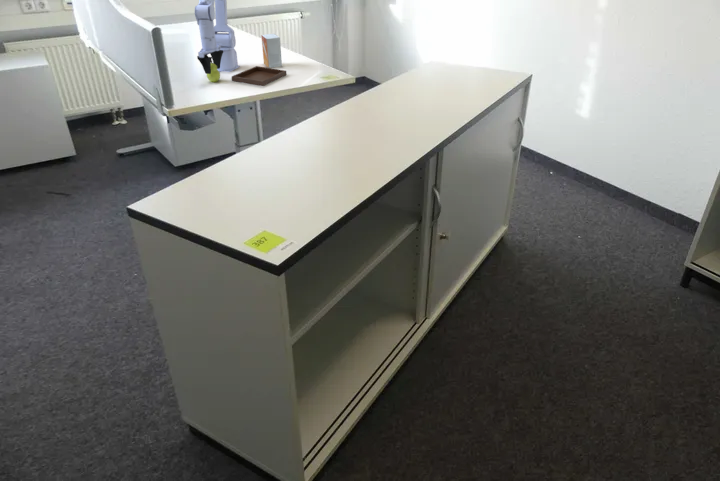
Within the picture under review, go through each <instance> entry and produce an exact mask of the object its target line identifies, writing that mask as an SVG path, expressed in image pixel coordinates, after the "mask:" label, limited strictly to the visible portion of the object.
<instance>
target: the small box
mask: <svg viewBox="0 0 720 481" xmlns="http://www.w3.org/2000/svg"><path fill="white" fill-rule="evenodd" d="M260 37H261V47H262V57H263V58H262V60H263V64H264V66H266V68H272V69H273V68H280V67H283V61H282V47H281V37H280V36H278V35H277V34H275V33H266V34H261V35H260Z"/></svg>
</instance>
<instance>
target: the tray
mask: <svg viewBox="0 0 720 481" xmlns="http://www.w3.org/2000/svg"><path fill="white" fill-rule="evenodd" d="M287 74H288V73H287V70H284V69H277V68H273V67H272V68H269V67H267V66H266V67H265V66H259V65H256V66H253V67H251V68H248V69H246V70H244V71H241V72H239V73H236V74H234V75H231V82H236V83H242V84H248V85H254V86H260V87H265V86H266V85H269V84H271V83H273V82H275V81H277V80H280V79H282V78H284V77H286V76H287Z"/></svg>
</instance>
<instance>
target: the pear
mask: <svg viewBox="0 0 720 481" xmlns="http://www.w3.org/2000/svg"><path fill="white" fill-rule="evenodd" d="M206 78H207V79H208V81H209V82H210V83H218V82H219V80H220V78H221V73H220V71H218V70H217V66H216V64H214V63H213V60H212V59H211V74H206Z"/></svg>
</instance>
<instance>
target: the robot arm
mask: <svg viewBox="0 0 720 481" xmlns="http://www.w3.org/2000/svg"><path fill="white" fill-rule="evenodd" d="M227 1H228V0H198V3H197V5H195V7H194V17H195V19H196V24H197V26H198V29H199V35H200V36H199V37H200V42H201V49H200V50H199V51H198V52H197V54H198V55H197V56H196V57H197V60H198V61H199V63H200V64H201V66H202V69H203V71H204V73H205V74H206V75H207V74H211V60H212V63H214V64H216V66H217V70H218V71H219V73H220V72H221V73H222V72H227V73H231V72H233V71H235V70H236V69H238V68H240V67H241V65H239V63H238V54H237V50H236V49H235V48H236V34H235V30H234V29H233V28H232V27H231V26H229V25H228V5H227V4H228V2H227ZM214 20H215V23H214ZM209 54H210V56H209Z"/></svg>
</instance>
